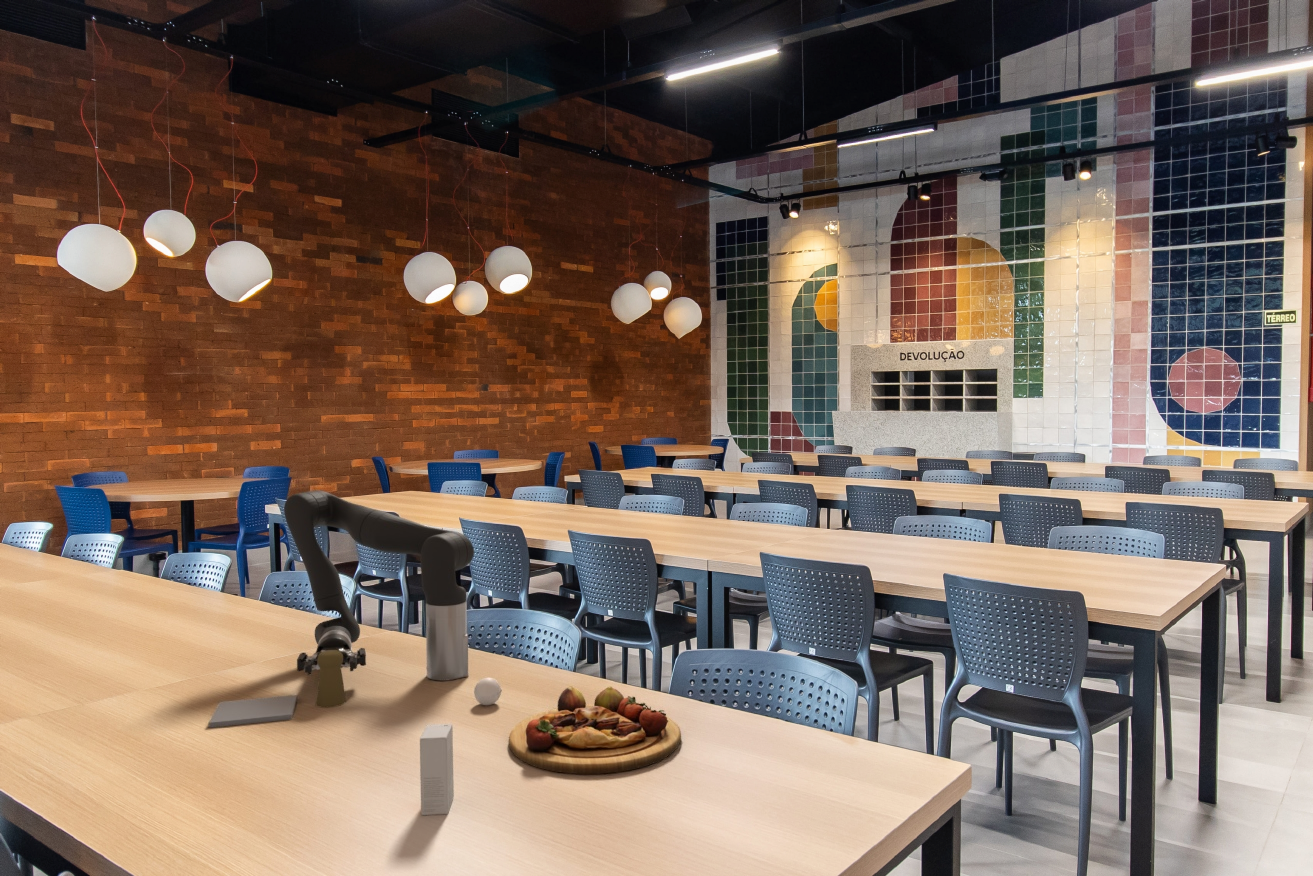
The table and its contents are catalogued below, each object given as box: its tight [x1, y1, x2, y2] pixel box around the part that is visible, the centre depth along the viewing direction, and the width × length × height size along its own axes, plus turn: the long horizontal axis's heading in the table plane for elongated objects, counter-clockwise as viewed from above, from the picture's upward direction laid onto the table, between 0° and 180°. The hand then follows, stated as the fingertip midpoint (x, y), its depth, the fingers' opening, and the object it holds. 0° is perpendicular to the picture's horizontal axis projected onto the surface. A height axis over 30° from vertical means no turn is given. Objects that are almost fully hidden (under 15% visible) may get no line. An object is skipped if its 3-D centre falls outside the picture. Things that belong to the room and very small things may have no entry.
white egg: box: [473, 677, 502, 706], centre depth 186 cm, size 8×6×6 cm
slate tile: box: [208, 694, 298, 728], centre depth 180 cm, size 15×13×1 cm
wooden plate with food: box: [508, 686, 682, 775], centre depth 164 cm, size 32×32×8 cm
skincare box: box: [419, 723, 455, 816], centre depth 137 cm, size 6×4×12 cm
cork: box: [315, 650, 347, 708], centre depth 186 cm, size 6×6×11 cm
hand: (330, 668), depth 189 cm, fingers open, 8 cm apart
